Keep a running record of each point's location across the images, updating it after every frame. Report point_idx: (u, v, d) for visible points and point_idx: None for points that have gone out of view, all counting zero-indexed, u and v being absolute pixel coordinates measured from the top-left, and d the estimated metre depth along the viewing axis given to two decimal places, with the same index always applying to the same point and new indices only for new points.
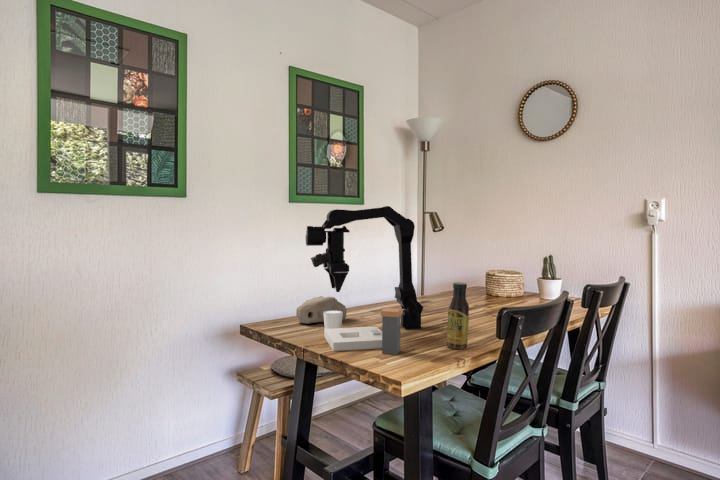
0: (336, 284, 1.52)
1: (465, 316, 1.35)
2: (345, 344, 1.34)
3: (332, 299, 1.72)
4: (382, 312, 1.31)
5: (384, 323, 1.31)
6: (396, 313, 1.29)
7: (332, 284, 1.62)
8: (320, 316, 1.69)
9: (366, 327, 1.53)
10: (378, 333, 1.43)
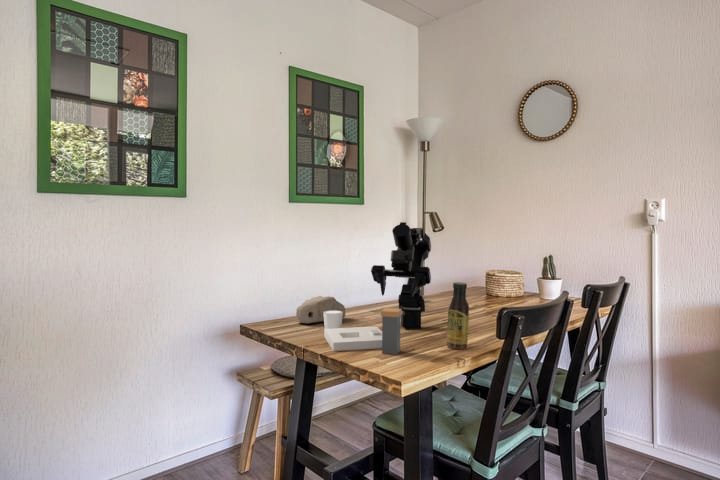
0: (414, 287, 1.39)
1: (465, 316, 1.35)
2: (345, 344, 1.34)
3: (331, 299, 1.73)
4: (382, 312, 1.31)
5: (384, 323, 1.31)
6: (396, 313, 1.29)
7: (383, 290, 1.42)
8: (320, 316, 1.70)
9: (366, 327, 1.53)
10: (378, 333, 1.43)
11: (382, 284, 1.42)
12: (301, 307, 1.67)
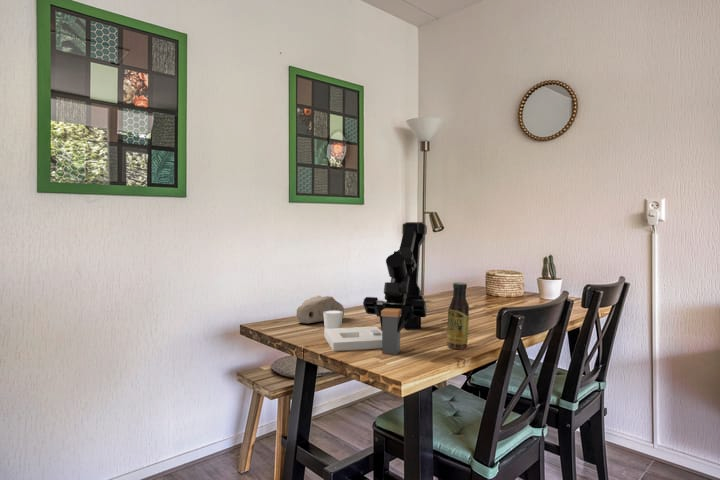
0: (401, 322, 1.31)
1: (465, 316, 1.35)
2: (345, 344, 1.34)
3: (331, 298, 1.74)
4: (382, 312, 1.31)
5: (384, 323, 1.31)
6: (396, 313, 1.29)
7: None
8: (320, 315, 1.70)
9: (366, 327, 1.53)
10: (378, 333, 1.43)
11: None
12: (302, 307, 1.67)
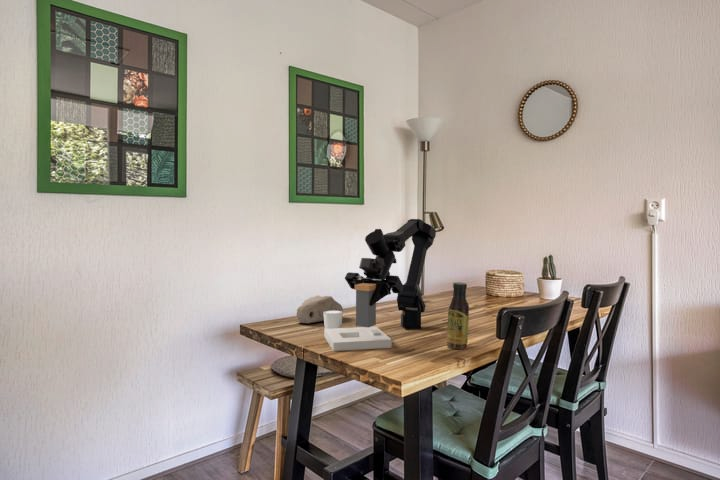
0: (374, 296, 1.36)
1: (465, 316, 1.35)
2: (345, 344, 1.34)
3: (330, 298, 1.74)
4: (355, 286, 1.36)
5: (357, 297, 1.36)
6: (367, 287, 1.34)
7: None
8: (320, 315, 1.71)
9: (366, 327, 1.53)
10: (378, 333, 1.43)
11: None
12: (302, 307, 1.67)
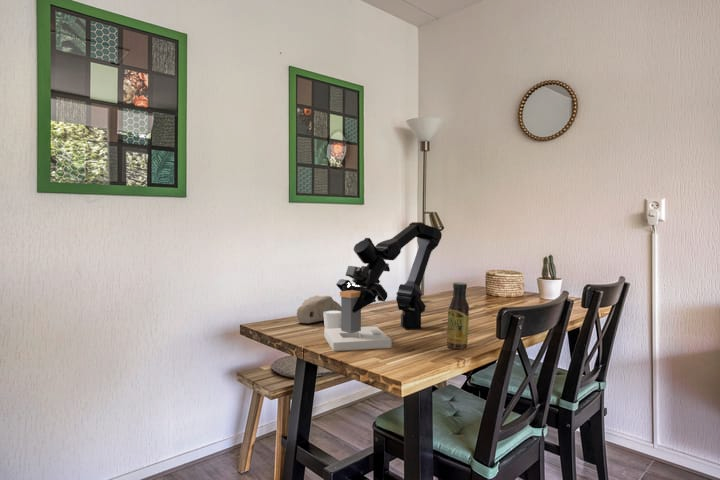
0: (358, 303, 1.40)
1: (465, 316, 1.35)
2: (345, 344, 1.34)
3: (330, 298, 1.75)
4: (340, 293, 1.42)
5: (342, 303, 1.42)
6: (349, 294, 1.39)
7: None
8: (320, 315, 1.71)
9: (366, 327, 1.53)
10: (378, 333, 1.43)
11: None
12: (302, 307, 1.67)
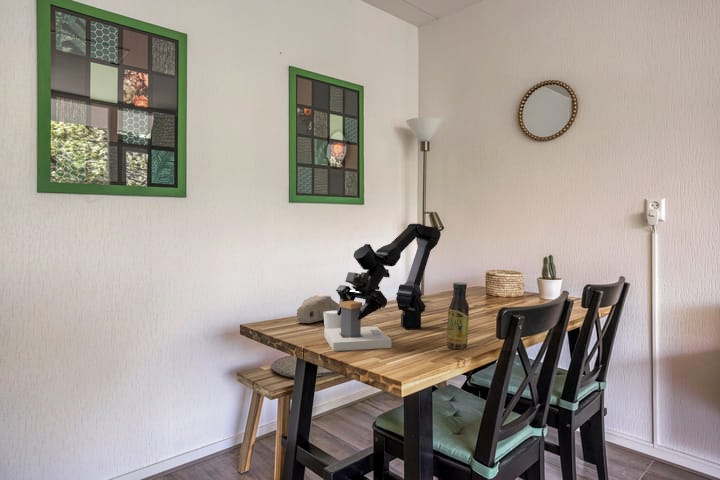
0: (362, 311, 1.39)
1: (465, 316, 1.35)
2: (345, 344, 1.34)
3: (329, 298, 1.75)
4: (340, 303, 1.42)
5: (342, 314, 1.42)
6: (349, 305, 1.39)
7: (340, 310, 1.45)
8: (320, 315, 1.71)
9: (366, 327, 1.53)
10: (378, 333, 1.43)
11: None
12: (303, 307, 1.67)
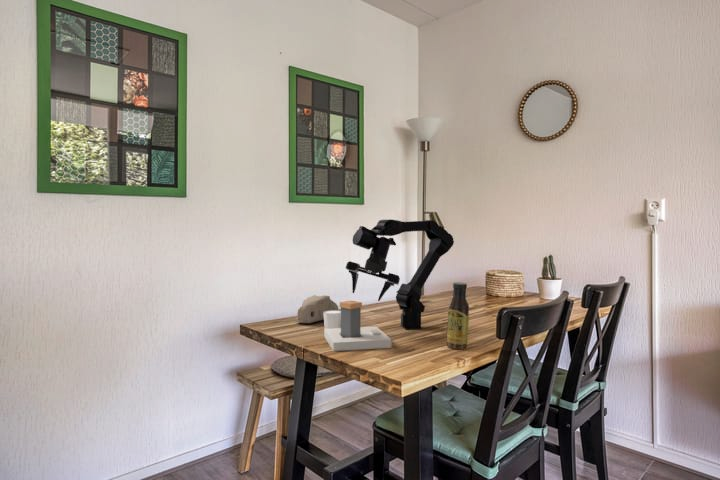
0: (382, 294, 1.53)
1: (465, 316, 1.35)
2: (345, 344, 1.34)
3: (328, 297, 1.76)
4: (340, 303, 1.42)
5: (342, 314, 1.42)
6: (349, 305, 1.39)
7: (354, 289, 1.55)
8: (320, 315, 1.72)
9: (366, 327, 1.53)
10: (378, 333, 1.43)
11: (354, 283, 1.55)
12: (303, 307, 1.67)
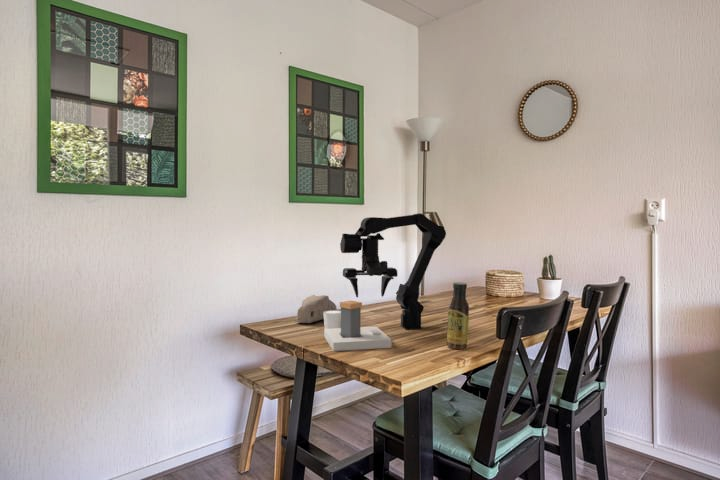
0: None
1: (465, 316, 1.35)
2: (345, 344, 1.34)
3: (327, 297, 1.77)
4: (340, 303, 1.42)
5: (342, 314, 1.42)
6: (349, 305, 1.39)
7: (357, 293, 1.58)
8: (319, 314, 1.72)
9: (366, 327, 1.53)
10: (378, 333, 1.43)
11: (356, 288, 1.57)
12: (304, 307, 1.67)
